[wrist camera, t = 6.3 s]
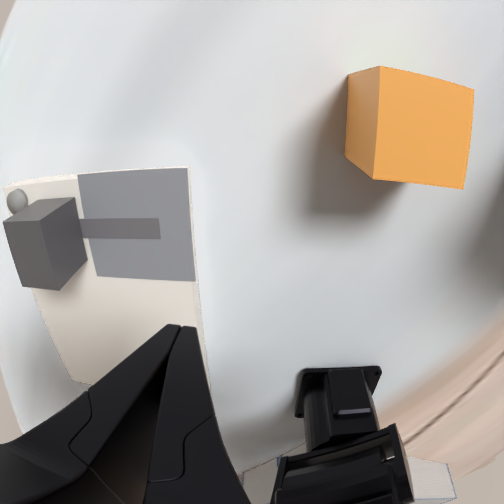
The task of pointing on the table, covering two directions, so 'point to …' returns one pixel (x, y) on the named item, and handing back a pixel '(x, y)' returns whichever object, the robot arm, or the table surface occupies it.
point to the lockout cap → (408, 127)
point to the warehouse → (422, 471)
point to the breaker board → (120, 264)
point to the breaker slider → (46, 243)
